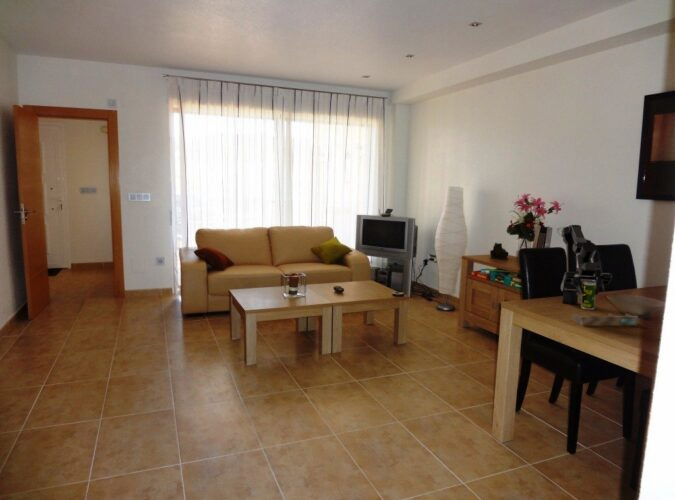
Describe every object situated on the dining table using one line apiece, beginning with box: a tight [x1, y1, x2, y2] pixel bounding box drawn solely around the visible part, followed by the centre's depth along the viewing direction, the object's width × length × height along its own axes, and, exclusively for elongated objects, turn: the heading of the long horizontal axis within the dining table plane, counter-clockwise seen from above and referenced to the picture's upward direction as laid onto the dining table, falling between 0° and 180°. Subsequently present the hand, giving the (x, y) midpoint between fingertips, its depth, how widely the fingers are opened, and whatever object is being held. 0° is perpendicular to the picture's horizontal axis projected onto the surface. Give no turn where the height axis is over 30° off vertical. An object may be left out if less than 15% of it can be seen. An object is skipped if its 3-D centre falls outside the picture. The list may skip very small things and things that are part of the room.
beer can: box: [580, 280, 597, 311], centre depth 203 cm, size 5×5×12 cm
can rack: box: [571, 313, 639, 327], centre depth 204 cm, size 24×9×4 cm, turn 89°
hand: (589, 294), depth 201 cm, fingers closed on beer can, 5 cm apart
